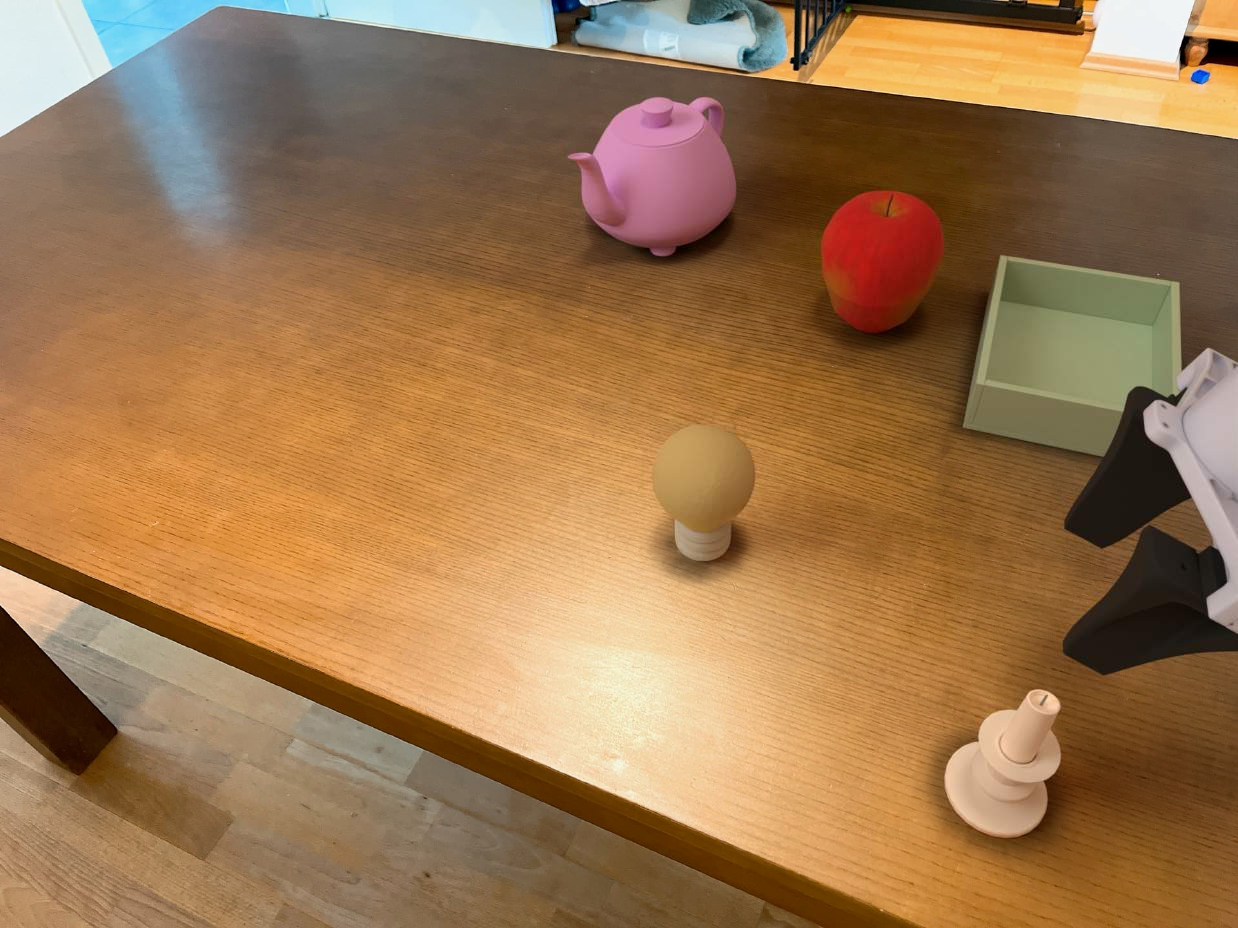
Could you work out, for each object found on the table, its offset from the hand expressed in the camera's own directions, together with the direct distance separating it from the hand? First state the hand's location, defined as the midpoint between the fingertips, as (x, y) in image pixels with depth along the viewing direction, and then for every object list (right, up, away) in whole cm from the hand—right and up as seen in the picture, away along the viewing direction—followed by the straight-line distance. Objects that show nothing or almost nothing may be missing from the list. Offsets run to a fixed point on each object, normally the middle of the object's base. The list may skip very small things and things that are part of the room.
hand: (1083, 592), depth 41 cm
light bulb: (-15, 0, +22) cm, 26 cm away
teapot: (-17, +28, +48) cm, 58 cm away
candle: (0, -12, +9) cm, 15 cm away
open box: (+14, +13, +31) cm, 36 cm away
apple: (+1, +18, +37) cm, 41 cm away
